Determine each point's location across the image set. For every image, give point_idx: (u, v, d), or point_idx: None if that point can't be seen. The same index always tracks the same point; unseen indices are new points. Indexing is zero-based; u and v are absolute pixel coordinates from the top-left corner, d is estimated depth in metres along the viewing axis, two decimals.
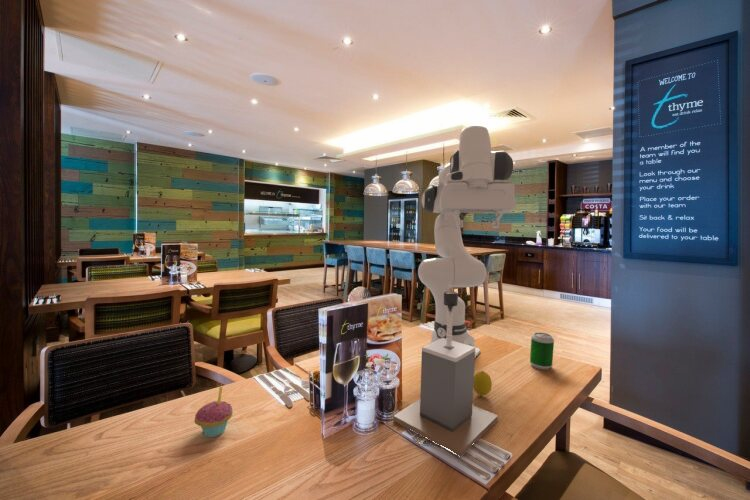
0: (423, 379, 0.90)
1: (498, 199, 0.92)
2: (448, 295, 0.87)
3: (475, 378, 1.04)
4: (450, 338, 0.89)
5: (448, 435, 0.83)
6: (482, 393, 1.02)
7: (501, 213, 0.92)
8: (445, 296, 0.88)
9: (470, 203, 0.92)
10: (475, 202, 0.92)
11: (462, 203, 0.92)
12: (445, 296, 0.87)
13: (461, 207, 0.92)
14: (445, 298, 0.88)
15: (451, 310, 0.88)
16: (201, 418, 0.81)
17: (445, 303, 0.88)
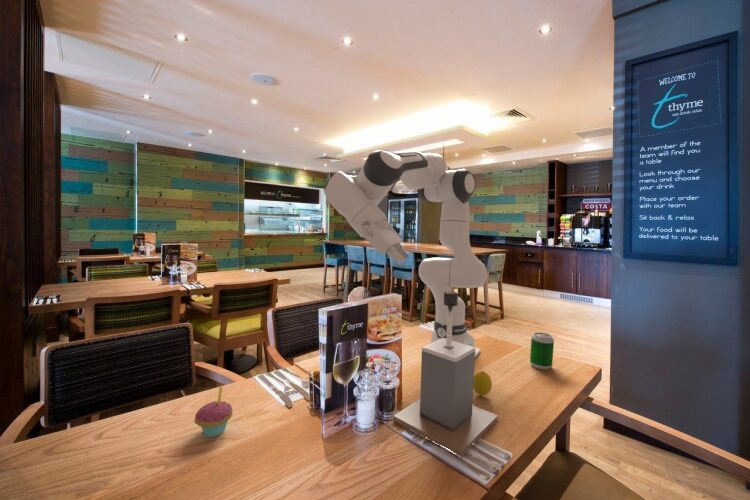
0: (423, 379, 0.90)
1: None
2: (448, 295, 0.87)
3: (475, 378, 1.04)
4: (450, 338, 0.89)
5: (448, 435, 0.83)
6: (482, 393, 1.02)
7: (388, 254, 0.85)
8: (445, 296, 0.88)
9: None
10: None
11: None
12: (445, 296, 0.87)
13: None
14: (445, 298, 0.88)
15: (451, 310, 0.88)
16: (201, 418, 0.81)
17: (445, 303, 0.88)
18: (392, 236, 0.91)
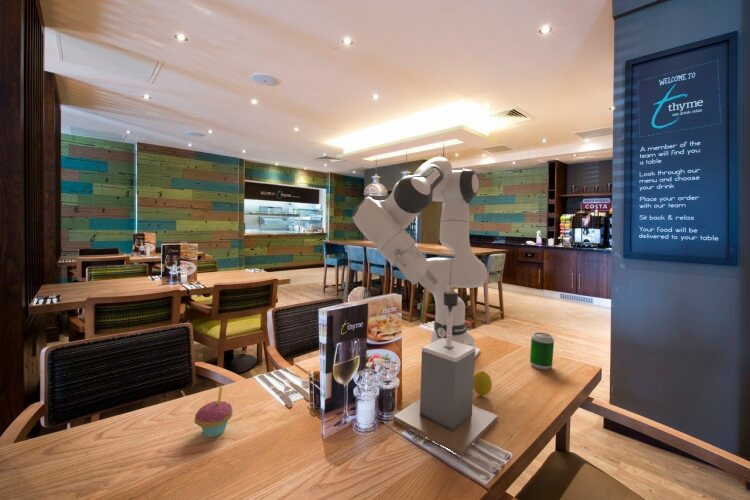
0: (423, 379, 0.90)
1: None
2: (448, 295, 0.87)
3: (475, 378, 1.04)
4: (450, 338, 0.89)
5: (448, 435, 0.83)
6: (482, 393, 1.02)
7: None
8: (445, 296, 0.88)
9: None
10: None
11: None
12: (445, 296, 0.87)
13: None
14: (445, 298, 0.88)
15: (451, 310, 0.88)
16: (201, 418, 0.81)
17: (445, 303, 0.88)
18: (422, 263, 0.90)
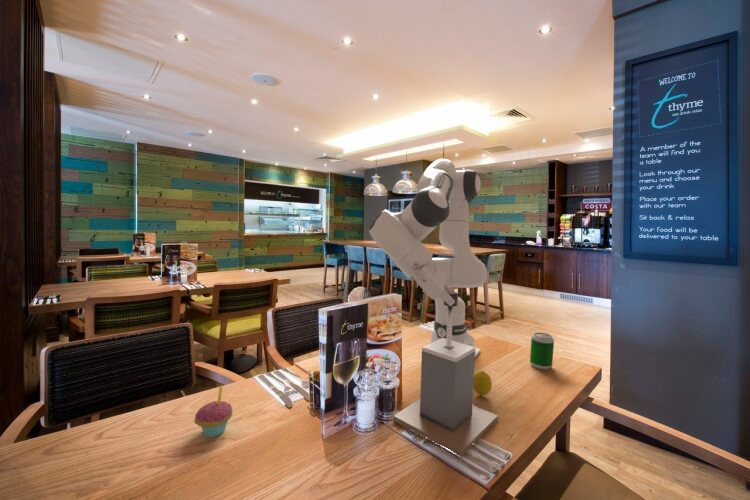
0: (423, 379, 0.90)
1: None
2: None
3: (475, 378, 1.04)
4: (450, 338, 0.89)
5: (448, 435, 0.83)
6: (482, 393, 1.02)
7: (439, 296, 0.85)
8: None
9: None
10: None
11: None
12: None
13: None
14: None
15: (451, 310, 0.88)
16: (201, 418, 0.81)
17: (445, 303, 0.88)
18: (440, 276, 0.89)
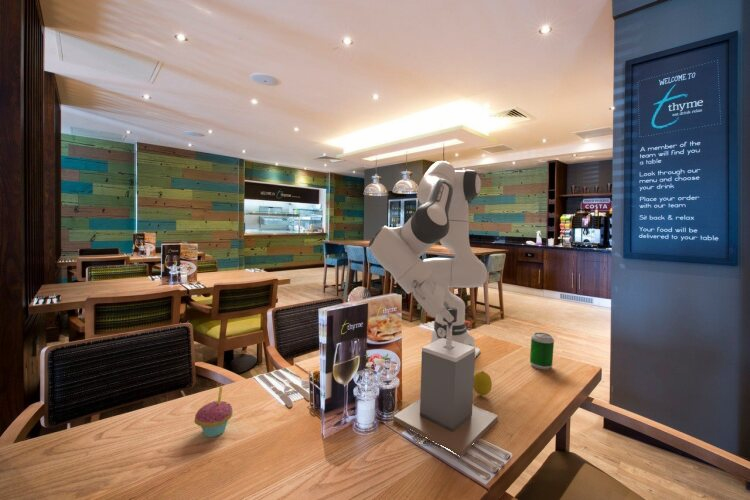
0: (423, 379, 0.90)
1: None
2: None
3: (475, 378, 1.04)
4: None
5: (448, 435, 0.83)
6: (482, 393, 1.02)
7: (439, 313, 0.86)
8: None
9: None
10: None
11: None
12: None
13: None
14: None
15: (450, 326, 0.88)
16: (201, 418, 0.81)
17: (444, 319, 0.88)
18: (439, 293, 0.90)
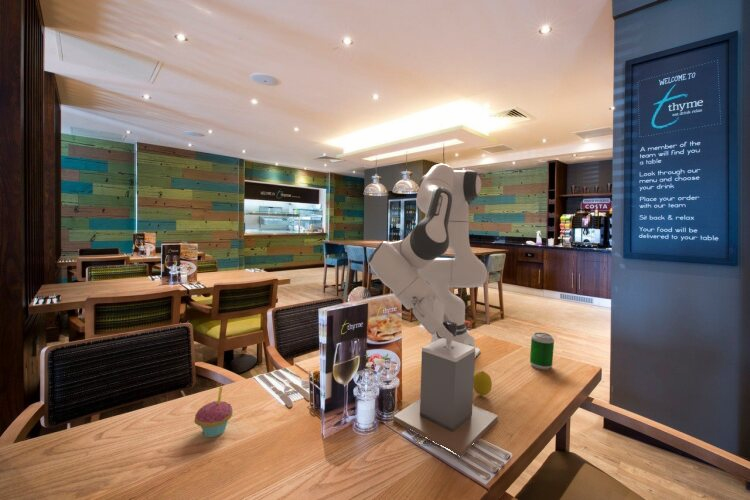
0: (423, 379, 0.90)
1: None
2: (447, 326, 0.88)
3: (475, 378, 1.04)
4: None
5: (448, 435, 0.83)
6: (482, 393, 1.02)
7: None
8: None
9: None
10: None
11: None
12: None
13: None
14: None
15: None
16: (201, 418, 0.81)
17: None
18: (438, 308, 0.90)
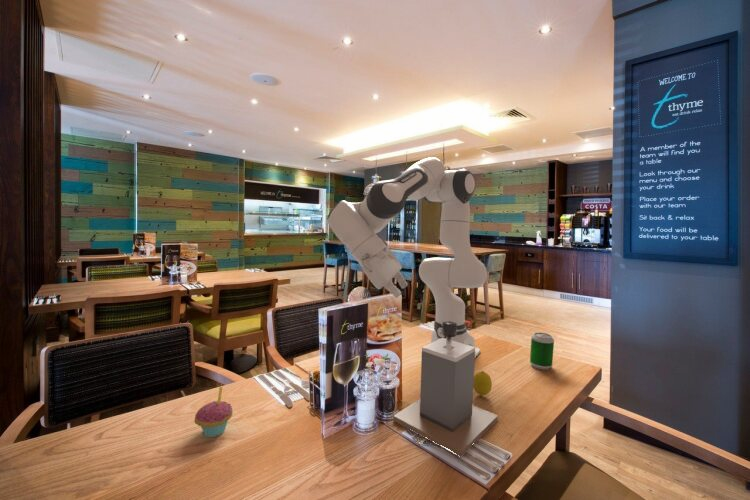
0: (423, 379, 0.90)
1: None
2: (447, 326, 0.88)
3: (475, 378, 1.04)
4: None
5: (448, 435, 0.83)
6: (482, 393, 1.02)
7: None
8: (444, 327, 0.88)
9: None
10: None
11: None
12: (444, 326, 0.88)
13: None
14: (444, 329, 0.88)
15: (450, 340, 0.89)
16: (201, 418, 0.81)
17: (444, 334, 0.88)
18: (391, 267, 0.94)
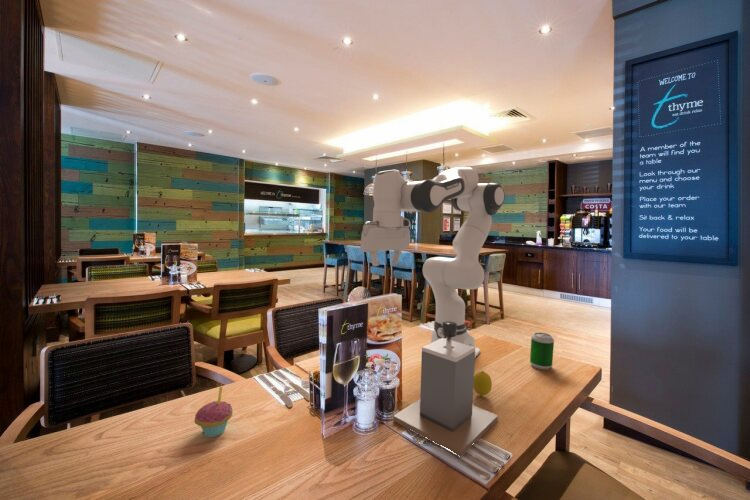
0: (423, 379, 0.90)
1: None
2: (447, 326, 0.88)
3: (475, 378, 1.04)
4: None
5: (448, 435, 0.83)
6: (482, 393, 1.02)
7: None
8: (444, 327, 0.88)
9: None
10: None
11: None
12: (444, 326, 0.88)
13: None
14: (444, 329, 0.88)
15: (450, 340, 0.89)
16: (201, 418, 0.81)
17: (444, 334, 0.88)
18: (391, 243, 1.08)
